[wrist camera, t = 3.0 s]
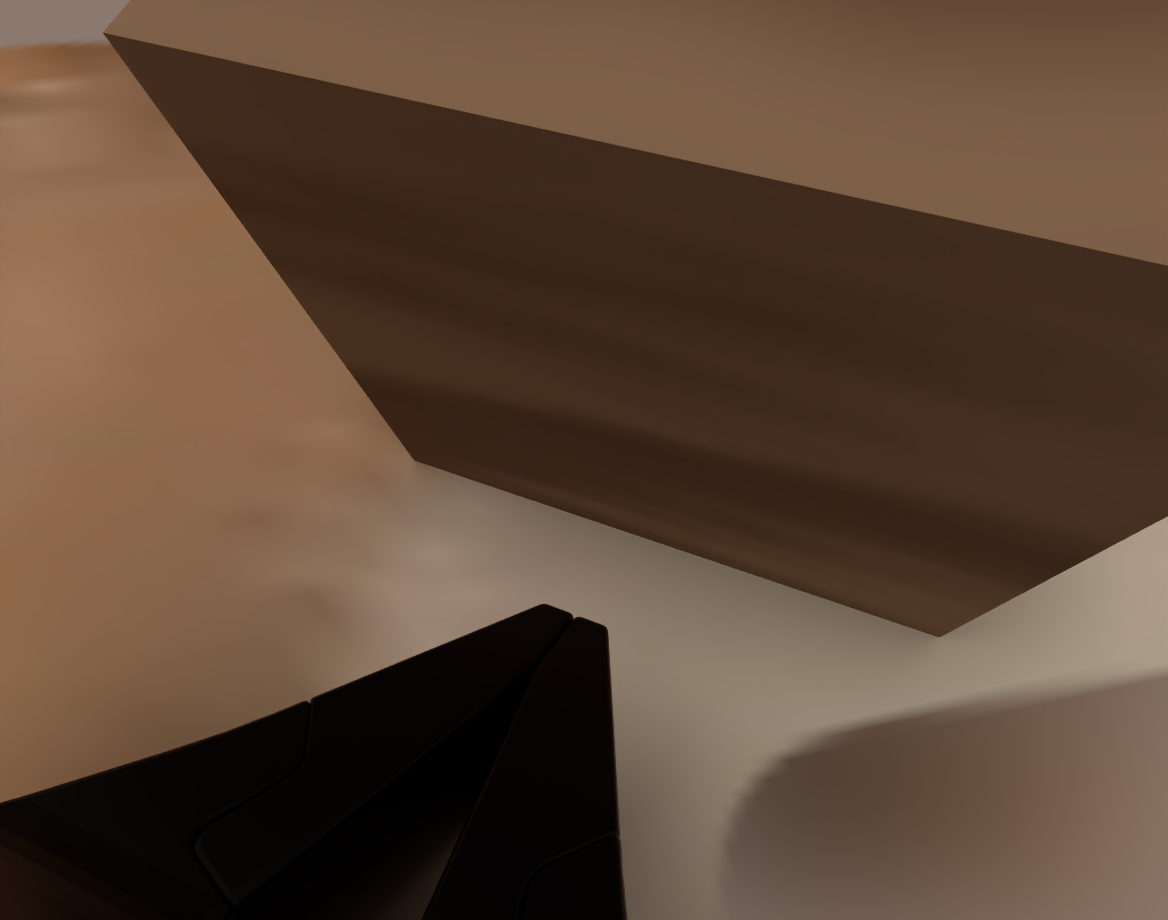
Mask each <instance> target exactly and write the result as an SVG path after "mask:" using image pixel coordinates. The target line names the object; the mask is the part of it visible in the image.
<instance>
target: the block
mask: <svg viewBox="0 0 1168 920" xmlns="http://www.w3.org/2000/svg"><path fill="white" fill-rule="evenodd" d="M103 33H104V35H105V36H106V38H107V39H108V40H109V42H110V43H111V44H112V46H113V47H114V49H115V50H116V51H117V53H118V54H119V55H120V57H121V58H122V60H123V61H124V62H125V64H126V65H127V66H128V68H129V69H130V71H131V72H132V73H133V75H134V76H135V77H136V79H137V80H138V82H139V83H140V84H141V86H142V87H143V88H144V90H145V91H146V93H147V94H148V95H149V97H150V98H151V99H152V101H153V102H154V104H155V105H156V106H157V108H158V109H159V110H160V112H161V113H162V115H163V116H164V117H165V119H166V120H167V121H168V123H169V124H170V125H171V127H172V128H173V130H174V131H175V132H176V134H177V135H178V136H179V138H180V139H181V141H182V142H183V143H184V145H185V146H186V147H187V149H188V150H189V152H190V153H191V154H192V156H193V157H194V158H195V160H196V161H197V163H198V164H199V165H200V167H201V168H202V169H203V171H204V172H205V174H206V175H207V176H208V178H209V179H210V180H211V182H212V183H213V185H214V186H215V187H216V189H217V190H218V191H219V193H220V194H221V196H222V197H223V198H224V200H225V201H226V202H227V204H228V205H229V207H230V208H231V209H232V211H233V212H234V213H235V215H236V216H237V218H238V219H239V220H240V222H241V223H242V224H243V226H244V227H245V229H246V230H247V231H248V233H249V234H250V235H251V237H252V238H253V239H254V241H255V242H256V244H257V245H258V246H259V248H260V249H261V250H262V252H263V253H264V255H265V256H266V257H267V259H268V260H269V261H270V263H271V264H272V266H273V267H274V268H275V270H276V271H277V272H278V274H279V275H280V277H281V278H282V279H283V281H284V282H285V283H286V285H287V286H288V288H289V289H290V290H291V292H292V293H293V294H294V296H295V297H296V299H297V300H298V301H299V303H300V304H301V305H302V307H303V308H304V310H305V311H306V312H307V314H308V315H309V316H310V318H311V319H312V321H313V322H314V323H315V325H316V326H317V327H318V329H319V330H320V332H321V333H322V334H323V336H324V337H325V338H326V340H327V341H328V342H329V344H330V345H331V347H332V348H333V349H334V351H335V352H336V353H337V355H338V356H339V358H340V359H341V360H342V362H343V363H344V364H345V366H346V367H347V369H348V370H349V371H350V373H351V374H352V375H353V377H354V378H355V380H356V381H357V382H358V384H359V385H360V386H361V388H362V389H363V391H364V392H365V393H366V395H367V396H368V397H369V399H370V400H371V402H372V403H373V404H374V406H375V407H376V408H377V410H378V411H379V413H380V414H381V415H382V417H383V418H384V419H385V421H386V422H387V424H388V425H389V426H390V428H391V429H392V430H393V432H394V433H395V435H396V436H397V437H398V439H399V440H400V441H401V443H402V444H403V446H404V447H405V448H406V450H407V451H408V452H409V454H410V455H411V456H412V458H413V459H414V460H415V461H418V462H421V463H424V464H427V465H430V466H433V467H436V468H439V469H442V470H445V471H447V472H450V473H453V474H456V475H459V476H462V477H465V478H468V479H471V480H474V481H477V482H480V483H483V484H486V485H489V486H492V487H495V488H498V489H501V490H504V491H507V492H510V493H513V494H516V495H519V496H522V497H525V498H528V499H531V500H534V501H537V502H539V503H542V504H545V505H548V506H551V507H554V508H557V509H560V510H563V511H566V512H569V513H572V514H575V515H578V516H581V517H584V518H587V519H590V520H593V521H596V522H599V523H602V524H605V525H608V526H611V527H614V528H617V529H620V530H623V531H626V532H628V533H631V534H634V535H637V536H640V537H643V538H646V539H649V540H652V541H655V542H658V543H661V544H664V545H667V546H670V547H673V548H676V549H679V550H682V551H685V552H688V553H691V554H694V555H697V556H700V557H703V558H706V559H709V560H712V561H715V562H717V563H720V564H723V565H726V566H729V567H732V568H735V569H738V570H741V571H744V572H747V573H750V574H753V575H756V576H759V577H762V578H765V579H768V580H771V581H774V582H777V583H780V584H783V585H786V586H789V587H792V588H795V589H798V590H801V591H804V592H807V593H809V594H812V595H815V596H818V597H821V598H824V599H827V600H830V601H833V602H836V603H839V604H842V605H845V606H848V607H851V608H854V609H857V610H860V611H863V612H866V613H869V614H872V615H875V616H878V617H881V618H884V619H887V620H890V621H893V622H896V623H898V624H901V625H904V626H907V627H910V628H913V629H916V630H919V631H922V632H925V633H928V634H931V635H934V636H937V637H941V636H943V635H945V634H946V633H948V632H950V631H952V630H954V629H956V628H958V627H960V626H962V625H963V624H965V623H967V622H969V621H971V620H973V619H975V618H977V617H979V616H980V615H982V614H984V613H986V612H988V611H990V610H992V609H994V608H996V607H997V606H999V605H1001V604H1003V603H1005V602H1007V601H1009V600H1011V599H1013V598H1014V597H1016V596H1018V595H1020V594H1022V593H1024V592H1026V591H1028V590H1029V589H1031V588H1033V587H1035V586H1037V585H1039V584H1041V583H1043V582H1045V581H1046V580H1048V579H1050V578H1052V577H1054V576H1056V575H1058V574H1060V573H1062V572H1063V571H1065V570H1067V569H1069V568H1071V567H1073V566H1075V565H1077V564H1079V563H1080V562H1082V561H1084V560H1086V559H1088V558H1090V557H1092V556H1094V555H1095V554H1097V553H1099V552H1101V551H1103V550H1105V549H1107V548H1109V547H1111V546H1112V545H1114V544H1116V543H1118V542H1120V541H1122V540H1124V539H1126V538H1128V537H1129V536H1131V535H1133V534H1135V533H1137V532H1139V531H1141V530H1143V529H1145V528H1146V527H1148V526H1150V525H1152V524H1154V523H1156V522H1158V521H1160V520H1161V519H1163V518H1165V517H1167V516H1168V0H131V1H130V2H129V3H128V4H127V5H126V7H125V8H124V9H123V10H122V11H121V12H120V14H119V15H118V16H117V17H116V18H115V19H114V21H113V22H112V23H111V24H110V25H109V26H108V27H107V29H106V30H105V31H104V32H103Z"/></svg>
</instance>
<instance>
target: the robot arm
mask: <svg viewBox="0 0 1168 920" xmlns="http://www.w3.org/2000/svg"><path fill="white" fill-rule="evenodd" d="M619 837H620V825H619V808H618V791H617V774H616V757H615V740H614V723H613V706H612V689H611V672H610V655H609V638H608V630H607V628H606V627H605V626H604V625H601V624H598V623H596V622H593V621H590V620H588V619H585V618H582V617H576V618H575V619H574V618H573V615H572V614H571V613H569V612H566V611H564V610H561V609H558V608H556V607H553V606H550V605H548V604H541V605H538V606H535V607H533V608H530V609H528V610H525V611H523V612H521V613H518V614H516V615H513V616H511V617H508V618H506V619H504V620H501V621H499V622H496V623H494V624H491V625H489V626H486V627H484V628H482V629H479V630H477V631H474V632H472V633H469V634H467V635H464V636H462V637H460V638H457V639H455V640H452V641H450V642H447V643H445V644H442V645H440V646H438V647H435V648H433V649H430V650H428V651H425V652H423V653H420V654H418V655H416V656H413V657H411V658H408V659H406V660H403V661H401V662H398V663H396V664H394V665H391V666H389V667H386V668H384V669H381V670H379V671H377V672H374V673H372V674H369V675H367V676H364V677H362V678H359V679H357V680H355V681H352V682H350V683H347V684H345V685H342V686H340V687H337V688H335V689H333V690H330V691H328V692H325V693H323V694H320V695H318V696H315V697H313V698H312V699H311V700H310V704H309V702H308V701H303V702H300V703H298V704H295V705H293V706H290V707H288V708H285V709H283V710H281V711H278V712H276V713H273V714H271V715H268V716H265V717H263V718H260V719H257V720H255V721H252V722H250V723H247V724H244V725H242V726H239V727H237V728H234V729H231V730H229V731H226V732H223V733H220V734H217V735H214V736H211V737H208V738H205V739H202V740H199V741H196V742H193V743H190V744H187V745H184V746H181V747H178V748H175V749H172V750H169V751H166V752H163V753H160V754H157V755H154V756H150V757H147V758H144V759H141V760H138V761H134V762H131V763H128V764H125V765H122V766H118V767H115V768H112V769H109V770H106V771H102V772H99V773H96V774H93V775H90V776H86V777H83V778H80V779H77V780H74V781H70V782H67V783H64V784H61V785H58V786H54V787H51V788H48V789H45V790H42V791H38V792H35V793H32V794H29V795H26V796H22V797H19V798H15V799H12V800H8V801H4V802H1V803H0V920H627V910H626V900H625V890H624V880H623V868H622V852H621V841H620V839H619Z"/></svg>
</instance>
